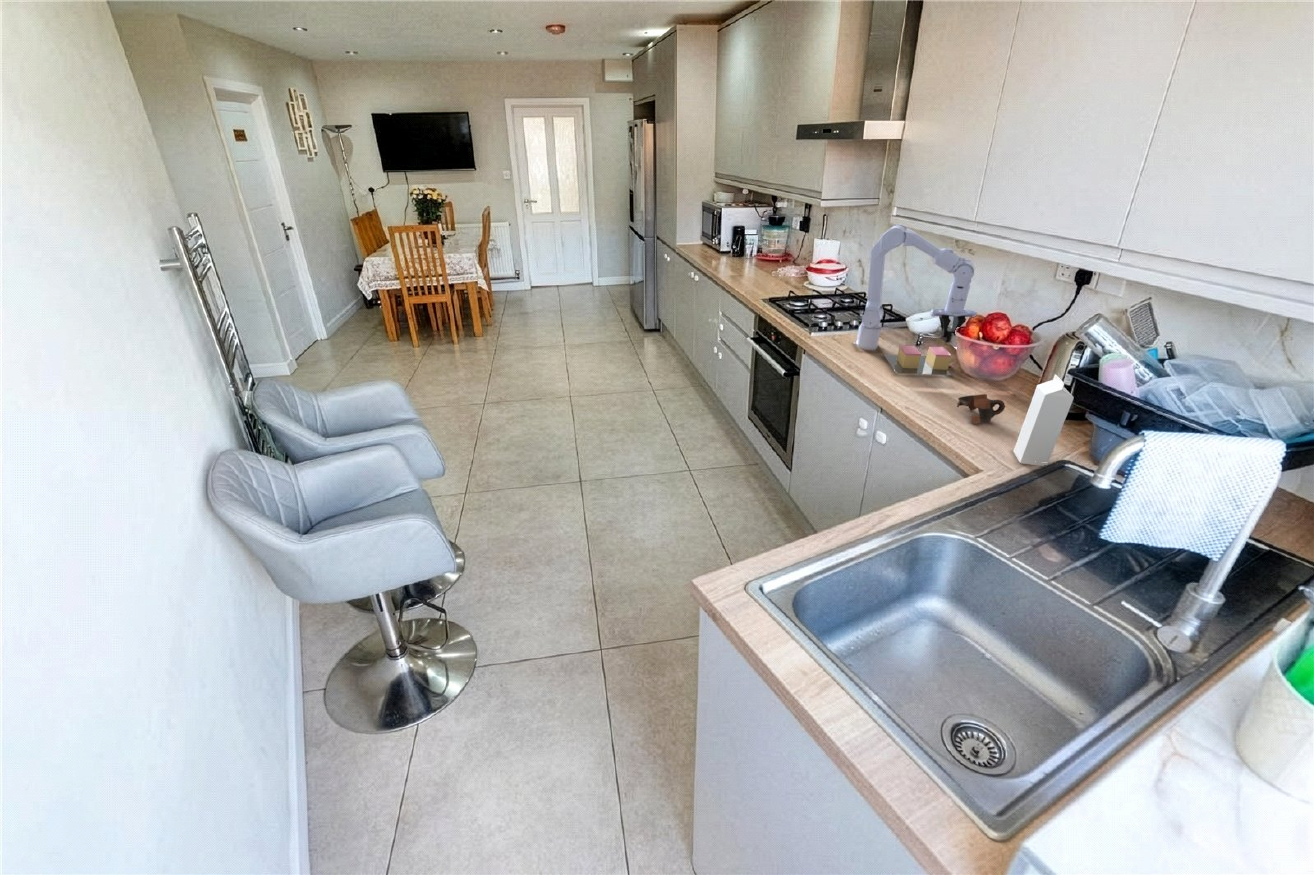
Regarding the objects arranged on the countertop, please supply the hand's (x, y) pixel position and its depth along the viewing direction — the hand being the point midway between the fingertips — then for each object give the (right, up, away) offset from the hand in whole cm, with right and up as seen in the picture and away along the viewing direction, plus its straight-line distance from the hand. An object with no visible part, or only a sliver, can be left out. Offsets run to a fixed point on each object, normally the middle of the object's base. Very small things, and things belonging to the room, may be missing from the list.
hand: (947, 336), depth 198 cm
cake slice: (-5, -10, -2) cm, 12 cm away
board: (-12, -11, -1) cm, 16 cm away
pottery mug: (-10, -30, -36) cm, 48 cm away
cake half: (-15, -10, -1) cm, 18 cm away
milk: (-8, -41, -56) cm, 70 cm away
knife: (-1, -4, -5) cm, 6 cm away
